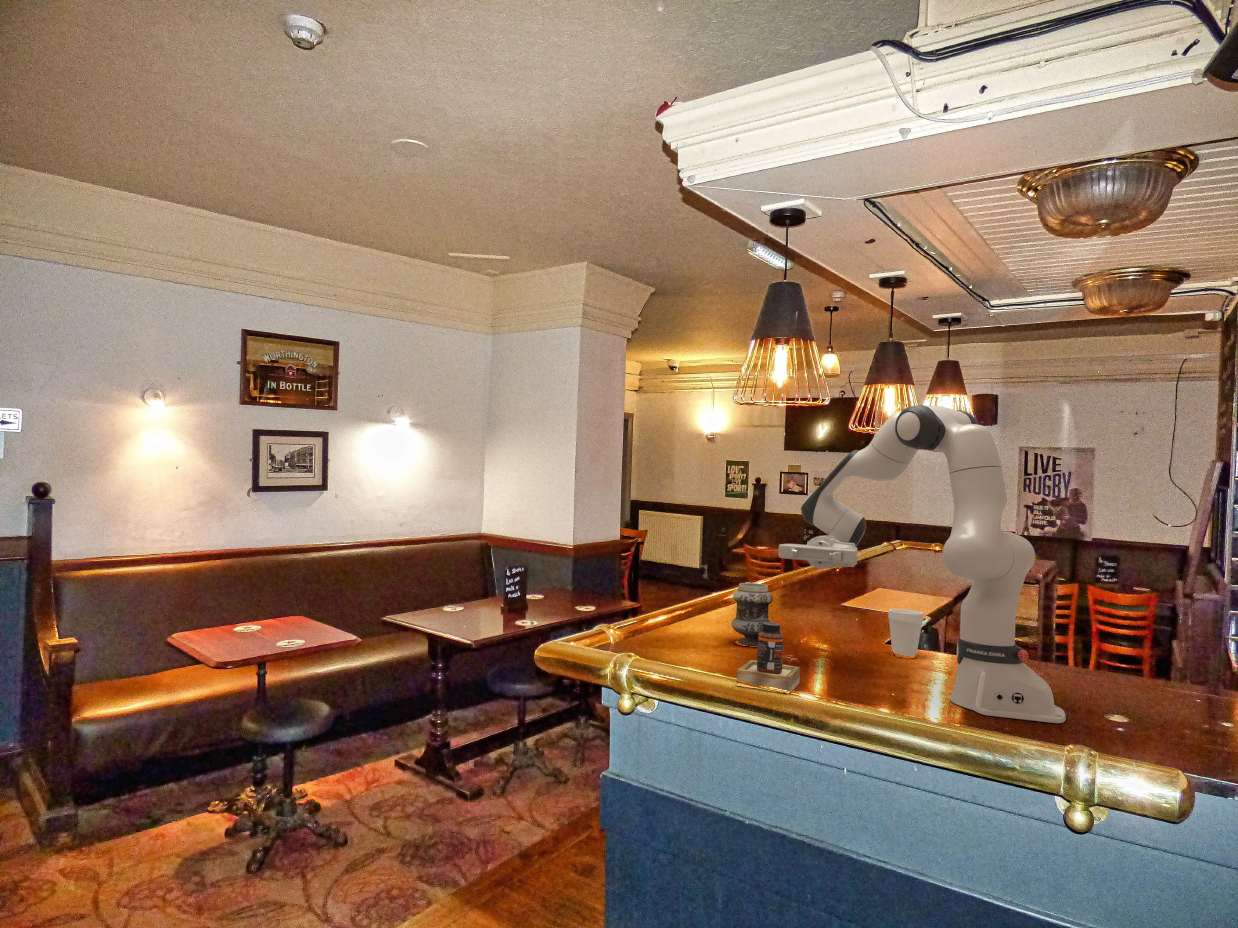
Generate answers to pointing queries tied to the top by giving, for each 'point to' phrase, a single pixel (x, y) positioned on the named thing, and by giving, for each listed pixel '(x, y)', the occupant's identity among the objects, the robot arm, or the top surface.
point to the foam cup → (905, 630)
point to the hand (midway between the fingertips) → (812, 555)
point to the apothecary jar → (751, 611)
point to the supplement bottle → (770, 649)
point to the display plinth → (770, 676)
